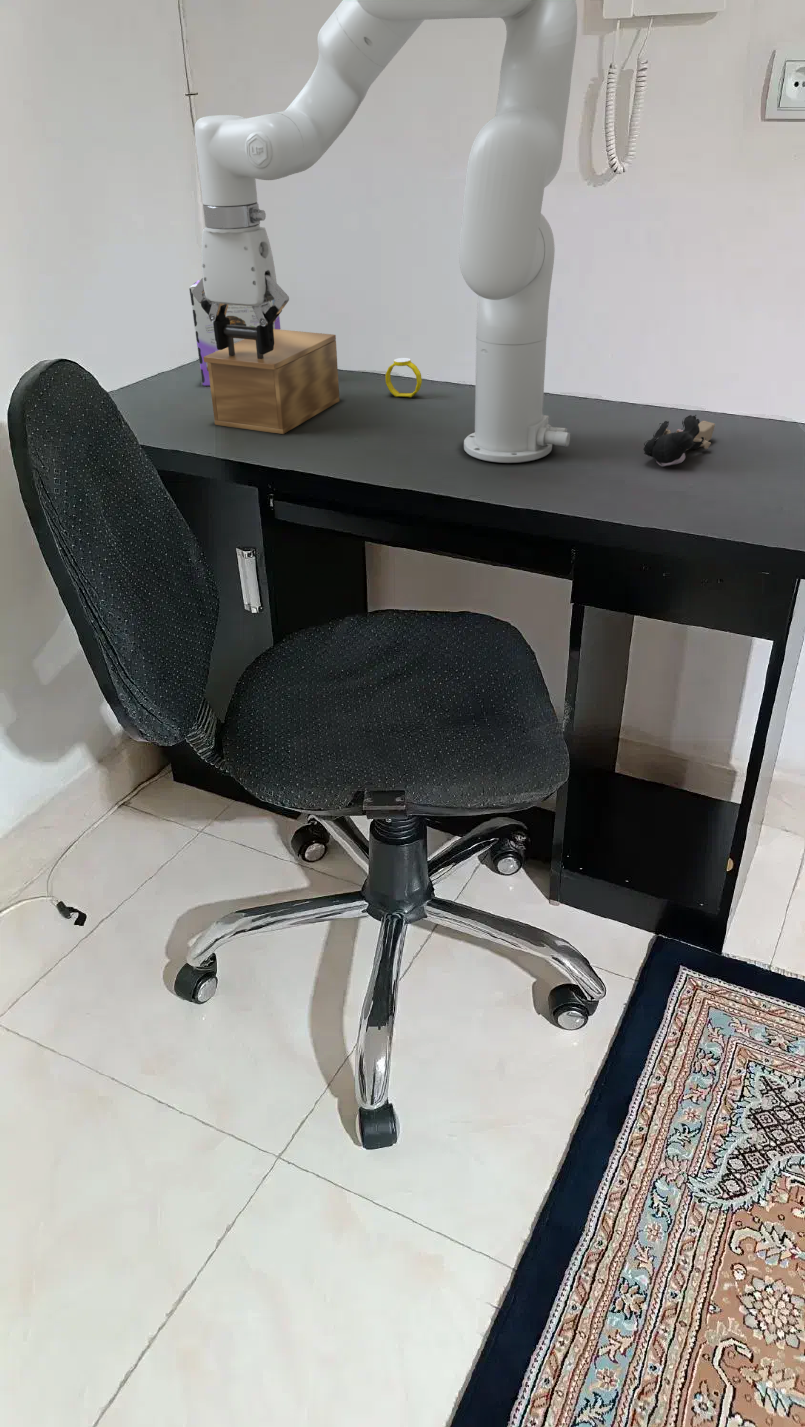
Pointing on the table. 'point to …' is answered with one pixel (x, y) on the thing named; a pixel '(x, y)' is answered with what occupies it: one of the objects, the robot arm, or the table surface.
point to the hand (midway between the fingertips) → (245, 349)
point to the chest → (275, 392)
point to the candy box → (206, 328)
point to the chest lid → (284, 352)
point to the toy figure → (678, 441)
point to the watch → (418, 375)
